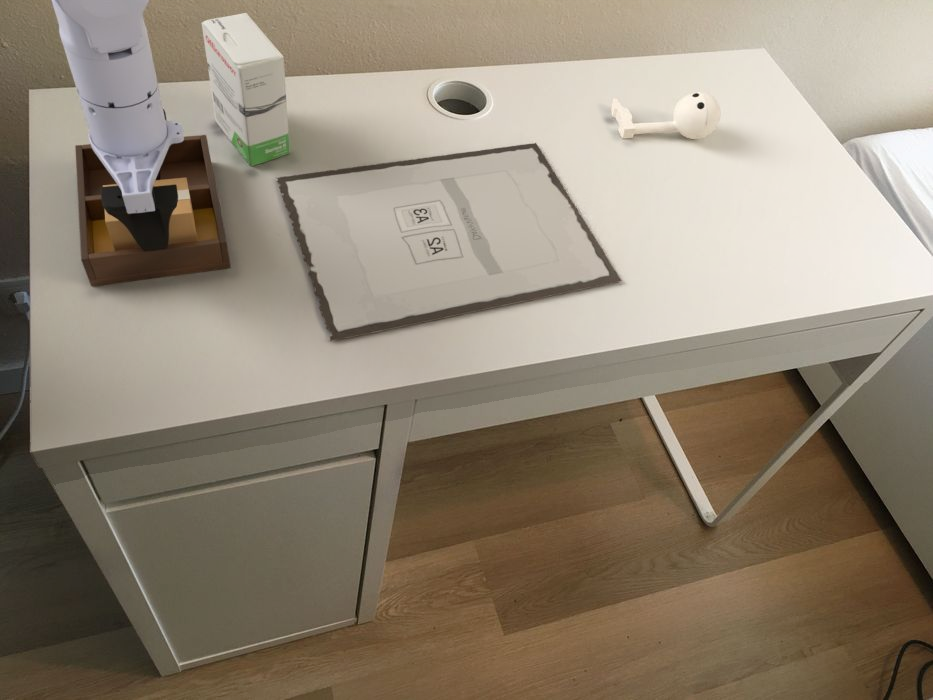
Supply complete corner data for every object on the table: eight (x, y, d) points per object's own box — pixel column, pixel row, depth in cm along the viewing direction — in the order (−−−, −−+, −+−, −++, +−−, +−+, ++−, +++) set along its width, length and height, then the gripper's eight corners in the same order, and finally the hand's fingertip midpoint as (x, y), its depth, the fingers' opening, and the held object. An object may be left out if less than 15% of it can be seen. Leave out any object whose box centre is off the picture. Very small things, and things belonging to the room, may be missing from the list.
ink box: (292, 154, 81) (287, 56, 72) (249, 168, 79) (238, 68, 70) (255, 108, 85) (246, 8, 76) (213, 120, 83) (198, 19, 73)
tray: (91, 286, 68) (80, 259, 65) (84, 173, 75) (74, 145, 73) (230, 268, 71) (226, 241, 68) (210, 162, 79) (206, 134, 76)
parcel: (118, 262, 68) (104, 221, 64) (115, 226, 71) (102, 184, 67) (200, 252, 70) (192, 212, 66) (194, 217, 73) (186, 176, 69)
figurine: (734, 109, 88) (638, 115, 86) (718, 146, 93) (626, 154, 91) (708, 67, 93) (615, 73, 91) (694, 105, 97) (605, 111, 95)
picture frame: (330, 342, 67) (621, 282, 77) (330, 340, 67) (622, 280, 77) (275, 178, 79) (535, 143, 88) (275, 176, 78) (536, 141, 88)
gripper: (183, 142, 55) (207, 269, 66) (164, 27, 62) (188, 158, 73) (76, 151, 53) (119, 280, 63) (70, 31, 60) (109, 165, 71)
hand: (151, 216), depth 68 cm, fingers open, 7 cm apart
